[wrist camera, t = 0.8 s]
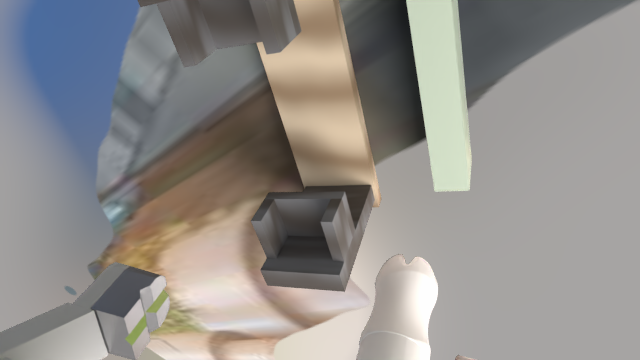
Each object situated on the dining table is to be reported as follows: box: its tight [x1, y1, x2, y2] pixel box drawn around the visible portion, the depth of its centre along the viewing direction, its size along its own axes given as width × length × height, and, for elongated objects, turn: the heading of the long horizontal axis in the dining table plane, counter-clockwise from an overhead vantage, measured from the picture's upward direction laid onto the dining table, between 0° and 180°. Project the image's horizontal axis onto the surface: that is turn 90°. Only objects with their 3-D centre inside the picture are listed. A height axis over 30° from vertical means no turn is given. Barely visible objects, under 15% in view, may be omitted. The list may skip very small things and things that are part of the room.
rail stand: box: [138, 0, 381, 292], centre depth 37 cm, size 29×8×14 cm, turn 15°
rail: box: [406, 0, 472, 191], centre depth 36 cm, size 20×3×5 cm, turn 16°
